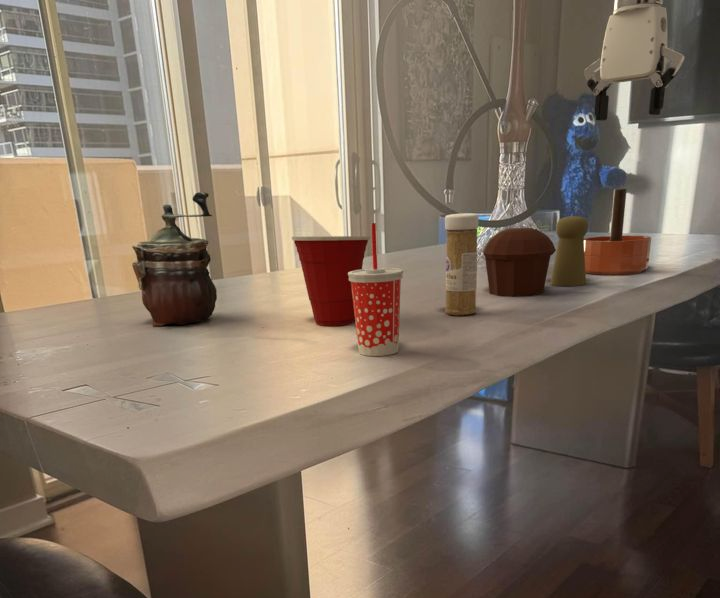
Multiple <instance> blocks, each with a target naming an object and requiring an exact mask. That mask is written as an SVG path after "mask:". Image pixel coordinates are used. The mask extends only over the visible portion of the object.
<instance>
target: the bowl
mask: <svg viewBox="0 0 720 598" xmlns="http://www.w3.org/2000/svg"><path fill="white" fill-rule="evenodd" d="M651 245H652V237H651V236H647V235H622V241H610V235H601V236H600V235H599V236H590V237H584V253H585V272H586V274H589V275H597V276H598V275H600V276H602V275H603V276H621V275H633V274H635V275H636V274H640V273H642V272H643V271H644V270H647V269H648V268H649V263H650V254H651Z"/></svg>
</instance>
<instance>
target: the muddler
mask: <svg viewBox="0 0 720 598" xmlns="http://www.w3.org/2000/svg"><path fill="white" fill-rule="evenodd" d="M627 191H628V190H627V188H614V189H613V196H612V206H611V207H612V209H611V220H610V231H609V236H610V241H622V236H623V235H624V234H623V232H624V224H625V223H624V222H625V221H624V220H625V212H626V202H627V201H626V199H627Z"/></svg>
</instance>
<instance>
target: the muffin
mask: <svg viewBox="0 0 720 598" xmlns="http://www.w3.org/2000/svg"><path fill="white" fill-rule="evenodd" d="M556 251H557V248H556V247H555V245H554V242H553V241H552V240H551V238H550V237H549V236H548V235H547V234H545V233H544V232H542V231H540V230H539V229H537V228H532V227H511V228H506V229H503V230H500V231H499V232H498V233H496V234H494V235H493V236H492V237H491V238H489V240H488V241H487V243H486V244H485V246H484V248H483V250H482V254H483V256H484V260H485V269H486V274H487V285H488V291H489V294H490V295H494V296H496V297H497V296H498V297H530V296H535V295H540V294H543V292H544V291H545V286H546V280H547V276H548V271H549V265H550V261H551V256H553V254H555V253H556Z"/></svg>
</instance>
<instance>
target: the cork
mask: <svg viewBox="0 0 720 598" xmlns="http://www.w3.org/2000/svg"><path fill="white" fill-rule="evenodd" d="M588 230H589V223H588V220H587V218H585V217H583V216H578V215H576V216H575V215H573V216H565V217H562V218H560V219H558V221H557V222H556V226H555V233H556V235H557V237H558V241H557V245H556V251H555V257H554V261H553V267H552V272H551V278H550V283H549V284H550V286H555V287H579V286H585V285H586V284H587V273H586V272H585V253H584V238H585V236H586V235H587V233H588Z"/></svg>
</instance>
